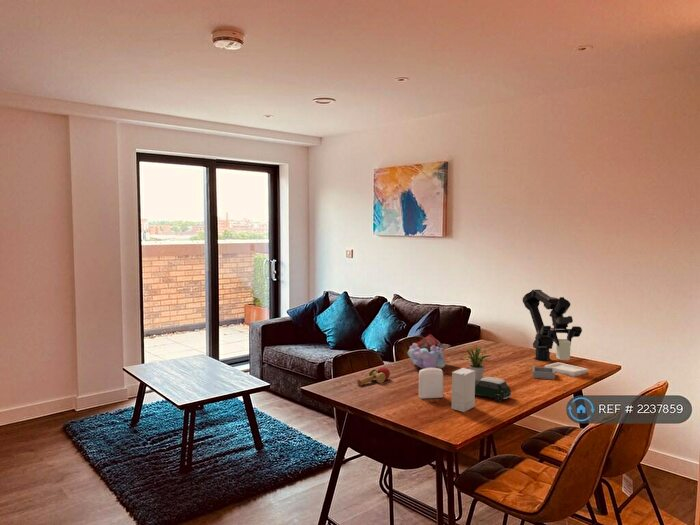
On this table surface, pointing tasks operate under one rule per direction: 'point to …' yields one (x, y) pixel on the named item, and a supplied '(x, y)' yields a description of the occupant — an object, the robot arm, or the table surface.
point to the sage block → (563, 349)
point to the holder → (543, 373)
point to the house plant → (477, 362)
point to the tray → (567, 369)
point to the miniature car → (492, 388)
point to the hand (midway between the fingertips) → (564, 345)
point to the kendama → (375, 376)
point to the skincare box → (463, 389)
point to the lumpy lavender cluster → (428, 353)
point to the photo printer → (430, 383)
